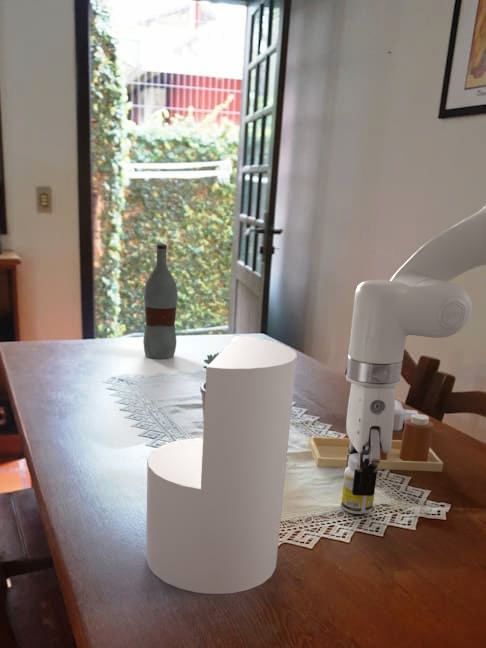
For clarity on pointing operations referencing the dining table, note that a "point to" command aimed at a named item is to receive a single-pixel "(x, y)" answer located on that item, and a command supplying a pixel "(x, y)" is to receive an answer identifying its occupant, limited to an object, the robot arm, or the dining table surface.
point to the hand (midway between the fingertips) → (359, 485)
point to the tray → (336, 453)
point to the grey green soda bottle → (160, 310)
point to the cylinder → (225, 476)
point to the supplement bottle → (350, 501)
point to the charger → (401, 416)
